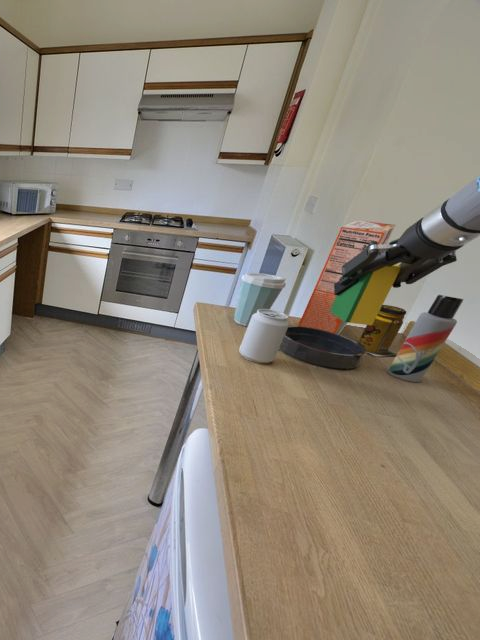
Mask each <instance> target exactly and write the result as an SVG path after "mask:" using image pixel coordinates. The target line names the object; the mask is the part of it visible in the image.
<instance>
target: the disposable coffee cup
mask: <svg viewBox="0 0 480 640" xmlns="http://www.w3.org/2000/svg"><path fill="white" fill-rule="evenodd" d="M240 279H241V280H240V286H239V291H238V295H237V302H236V305H235V306H236V307H235V311H234V315H233V319H234V322H235V323H236V324H238V325H241V326H244V327H247V328H248V325H249V322H250V320H251V317H252V315H253V314H255V313H257V310H259V309H270V310H271V308H272V306H273V305H274V303H275V301H276V300H277V299H278V298H279V295H280V293H281V292H282V291H283V289H285V288H286V284H287V283H286V282H285V281H286V278H285V277H283V276H280V275H279V276H278V275H274V274H269V273H262V272H261V273H260V272H246V273H245V274H243V275H242V276H241V278H240Z"/></svg>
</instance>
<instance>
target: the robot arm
mask: <svg viewBox="0 0 480 640" xmlns="http://www.w3.org/2000/svg"><path fill="white" fill-rule="evenodd" d="M479 237H480V175H479V176H477V177H476V178H475V179H474V180H472V181H471V182H469V183H468V184H467V185H465V186H464V187H463V188H461V189H460V190H458V192H456V193H454V194H453V195H452V196H451V197H449V198H448V199H446V200H445V201H444V202H442V203H441V204H439V205H438V206H437V207H435V208H434V209H432V210H431V211H430V212H428V213H427V214H425V215H424V216H423V217H421V218H420V219H418V220H417V221H416V222H414V223H413V224H411V225H410V226H409V227H407V228H406V229H405V230H404V232H403V233H402V235H401V236H400V237H399V238H397V239H394V240H391V241H390V242H389V243H387V244H382V245H378V242H377V241H373V242H370V243H369V245H368V246H367V248H366V249H365V250H363V251H362V252H361V253H359V254H358V255H357V256H355V257H354V258H352V259H351V260H350V261H348V262H347V263H346V264H344V265H343V266H342V277H341V278H340V279H339V281H338V282H337V283H335V284H334V294H335V295H340V294H341V293H343V292H344V291H346V290H347V289H349V288H350V287H351V286H353V285H354V284H356V283H357V282H359V278H361V277H363V276H365V275H368V274H370V273H372V272H374V271H377V270H379V269H381V268H383V267H386V266H388V267H391V266H393V265H395V264H396V265H399V266H401V268H400V271H399V273H398V275H397V277H396V279H395V281H394V283H393V285H392V288H394V289H398V288H400V287H402V283H405V284H406V285H412V284H415V283H416V282H418V281H419V280H422V279H423V278H424V277H427V276H428V275H430V274H431V273H433V272H435V271H437V270H438V269H440V268H442V267H444V266H447V265H449V264H453V263H455V262H457V261H458V260H457V259H458V258H457V251H458V250H459V249H461V248H463V247H464V246H466V245H468V244H469V243H470V242H472V241H474V240H476V239H478V238H479Z"/></svg>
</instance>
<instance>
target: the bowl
mask: <svg viewBox="0 0 480 640" xmlns="http://www.w3.org/2000/svg"><path fill="white" fill-rule="evenodd" d="M279 350H281V351H282V352H284V353H286V354H287V355H288V356H290V357H292V358H294V359H297V360H299V361H303V362H305V363H308V364H312V365H315V366H318V367H319V366H320V367H323V368H329V369H337V370H347V369H354V368H358V367H359V366H360V365H361V362H362V361H363V359H364V357H365V355H366V354H367V353H366V350H365V348H364V347H363V346H361V345H360V344H359V343H358V341H355V340H353V339H351V338H348V337H346V336H344V335H341V334H339V335H338V334H335V333H331V332H328V331H324V330H320V329H315V328H310V327H302V326H298V325H291V326H290V325H289V326H288V329H287V331H286V333H285V336H284V338H283V340H282V343H281V345H280V347H279Z"/></svg>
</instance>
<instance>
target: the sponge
mask: <svg viewBox="0 0 480 640" xmlns="http://www.w3.org/2000/svg"><path fill="white" fill-rule="evenodd" d="M354 257H355V256H354ZM399 265H400V264H395V265H393V266H391V267H388V266H386V267H383V268H381V269H379V270H377V271H374V272H372V273H370V274H368V275H365V276H363V277H361V278H359V282H357V283H356V284H354V285H353V286H351V287H350V288H349V289H347V290H346V291H344V292H343V293H341V294H340V295H337V296H336V298H335V300H334V302H333V304H332V307H331V309H330V311H329V312H331V313H332V314H334V315H335V316H337V317H338V318H340V319H341V320H343V321H344V322H347V324H358V325H366V326H367V325H372V324H373V322H374V320H375V319H376V317H377V315H378V313H379V311H380V309H381V307H382V305H384V303H385V301H386V299H387V298H388V295H389V293H390V291H391V289H392V288H393V286H392V285H393V283H394V281H395V279H396V277H397V275H398V273H399V271H400V268H401V266H399Z"/></svg>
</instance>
